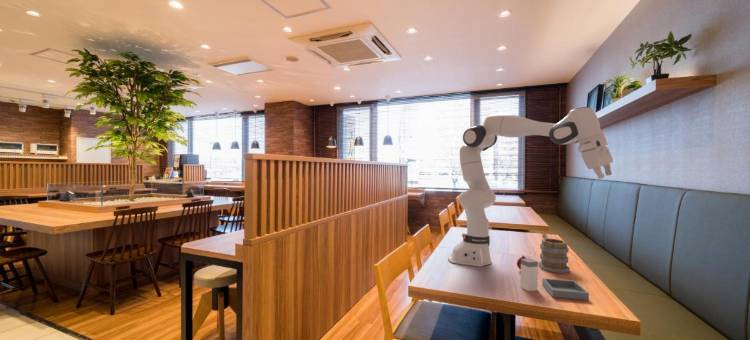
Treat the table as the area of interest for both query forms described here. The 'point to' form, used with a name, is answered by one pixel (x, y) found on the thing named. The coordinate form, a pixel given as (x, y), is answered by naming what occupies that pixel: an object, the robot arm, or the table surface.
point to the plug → (529, 274)
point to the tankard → (554, 255)
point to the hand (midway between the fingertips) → (605, 176)
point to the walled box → (565, 289)
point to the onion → (520, 262)
